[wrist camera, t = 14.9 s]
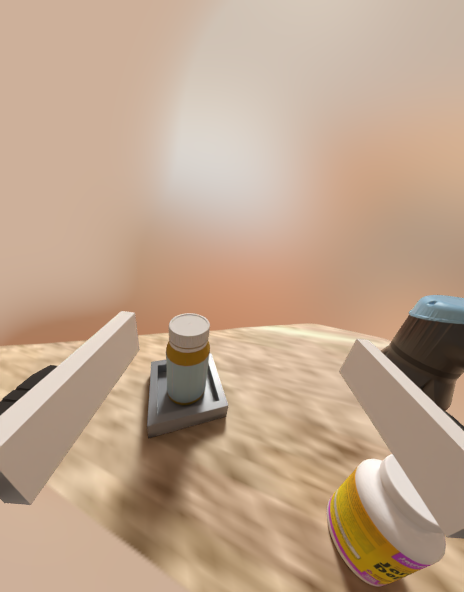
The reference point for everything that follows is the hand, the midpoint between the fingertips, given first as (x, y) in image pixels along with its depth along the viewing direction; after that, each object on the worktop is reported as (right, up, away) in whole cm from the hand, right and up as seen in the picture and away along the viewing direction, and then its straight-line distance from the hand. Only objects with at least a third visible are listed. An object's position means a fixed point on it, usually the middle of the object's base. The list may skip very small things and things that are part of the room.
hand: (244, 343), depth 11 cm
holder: (-10, -16, +23) cm, 30 cm away
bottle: (-9, -15, +23) cm, 29 cm away
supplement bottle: (+14, -26, +10) cm, 31 cm away
